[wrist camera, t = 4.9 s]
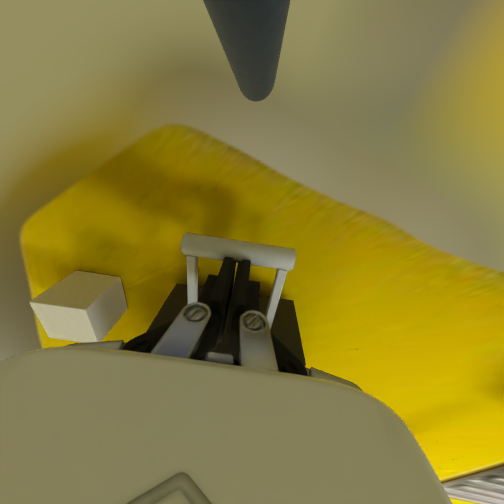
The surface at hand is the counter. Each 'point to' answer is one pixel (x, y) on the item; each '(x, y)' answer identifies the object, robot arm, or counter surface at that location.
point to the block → (81, 307)
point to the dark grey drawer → (272, 307)
